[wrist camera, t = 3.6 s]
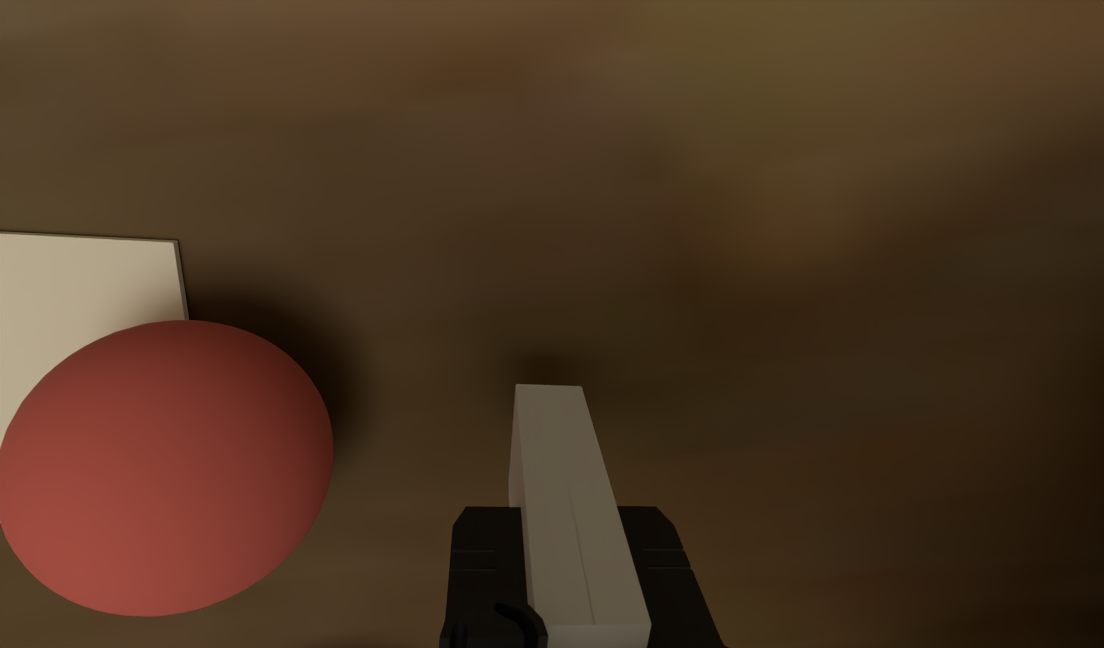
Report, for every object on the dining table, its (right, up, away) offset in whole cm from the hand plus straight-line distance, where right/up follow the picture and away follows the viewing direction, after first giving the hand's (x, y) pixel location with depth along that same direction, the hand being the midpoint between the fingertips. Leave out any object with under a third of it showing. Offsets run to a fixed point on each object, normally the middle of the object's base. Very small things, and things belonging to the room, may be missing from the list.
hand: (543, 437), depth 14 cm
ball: (-8, 0, -1) cm, 8 cm away
